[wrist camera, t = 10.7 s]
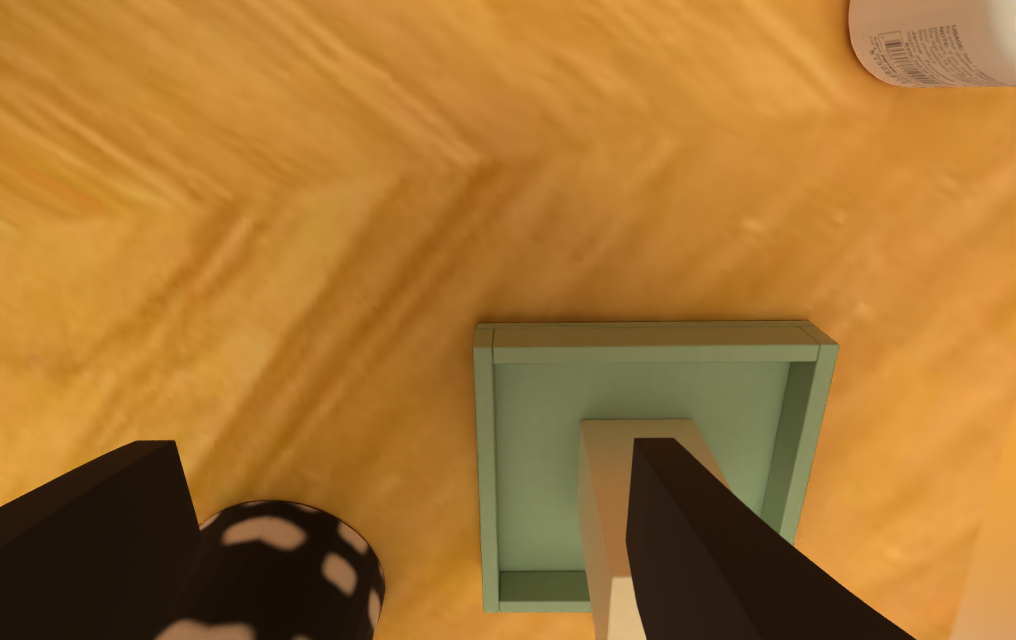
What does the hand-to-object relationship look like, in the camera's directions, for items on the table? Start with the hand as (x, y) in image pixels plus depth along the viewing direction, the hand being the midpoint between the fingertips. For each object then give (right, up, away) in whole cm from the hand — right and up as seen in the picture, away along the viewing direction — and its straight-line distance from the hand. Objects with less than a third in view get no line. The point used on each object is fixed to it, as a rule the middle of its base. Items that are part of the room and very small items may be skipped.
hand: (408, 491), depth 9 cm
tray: (+6, -3, +12) cm, 14 cm away
